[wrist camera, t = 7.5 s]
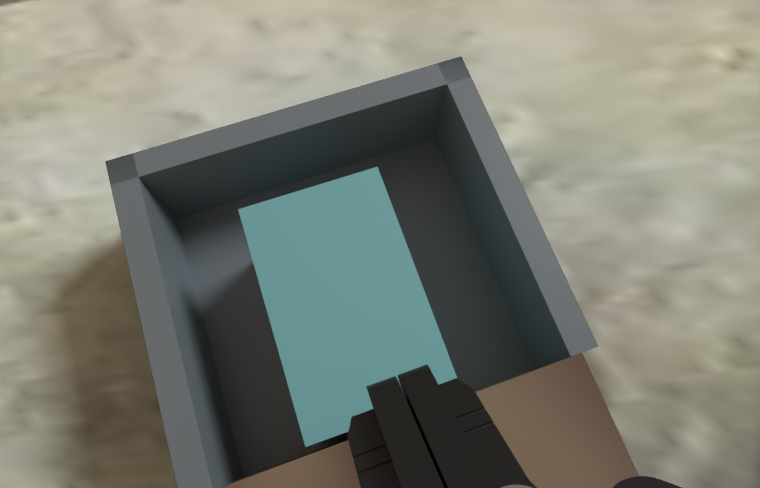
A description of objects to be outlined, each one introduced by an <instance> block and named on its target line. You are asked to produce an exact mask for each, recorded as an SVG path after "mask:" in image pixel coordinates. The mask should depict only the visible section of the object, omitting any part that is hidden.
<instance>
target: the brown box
mask: <svg viewBox="0 0 760 488" xmlns="http://www.w3.org/2000/svg"><path fill="white" fill-rule="evenodd" d="M475 392H476V394H477V396H478V397H479V399H480V401H481V402H482V404H483V406H484V408H485V410H487V412H488V414H489V415H490V417H491V419H492V420H493V423H494V424H495V425H496V427H497V428H498V430H499V432H500V433H501V435H502V437H503V438H504V440H505V442H506V443H507V445H508V447H509V448H510V450H511V451H512V453H513V455H514V456H515V458H516V460H517V461H518V463H519V465H520V466H521V468H522V469H523V471H524V473H525V474H526V476H527V477H528V479H529V480H530V481H531V482H532V483H533V484H534V486H536V487H537V488H613V487H614V486H615V485H616V484H617V483H619V482H620V481H622V480H624V479H627V478H631V477H638V476H639V475H638V473H637V471H636V469H635V467H634V465H633V462H632V460H631V458H630V456H629V454H628V452H627V449H626V447H625V445H624V443H623V441H622V439H621V436H620V434H619V432H618V430H617V428H616V426H615V423H614V421H613V419H612V417H611V415H610V413H609V410H608V408H607V406H606V404H605V402H604V400H603V397H602V395H601V393H600V391H599V389H598V387H597V384H596V382H595V380H594V378H593V376H592V374H591V371H590V369H589V367H588V365H587V363H586V361H585V358H584V356H583V354H582V353H580V354H577V355H574V356H571V357H568V358H565V359H562V360H559V361H556V362H553V363H550V364H547V365H544V366H541V367H538V368H535V369H532V370H530V371H527V372H524V373H522V374H519V375H516V376H514V377H511V378H508V379H506V380H503V381H500V382H498V383H495V384H492V385H489V386H487V387H484V388H481V389H479V390H476V391H475ZM219 488H361V487H360V483H359V479H358V475H357V472H356V468H355V464H354V460H353V457H352V453H351V449H350V445H349V442H348V438H347V439H345V440H342V441H339V442H337V443H334V444H331V445H329V446H326V447H323V448H321V449H318V450H315V451H313V452H310V453H307V454H305V455H302V456H299V457H297V458H294V459H291V460H289V461H286V462H283V463H281V464H278V465H275V466H272V467H270V468H267V469H264V470H262V471H259V472H256V473H254V474H251V475H248V476H246V477H243V478H241V479H238V480H236V481H234V482H231V483H229V484H227V485H224V486H222V487H219Z"/></svg>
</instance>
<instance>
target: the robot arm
mask: <svg viewBox="0 0 760 488" xmlns="http://www.w3.org/2000/svg"><path fill="white" fill-rule="evenodd" d="M398 379H399V382H398V380H397V378H396V376H394V377H391V378H388V379H385V380H383V381H380V382H377V383H374V384H372V385H369V386H366V388H367V391H368V394H369V397H370V400H371V403H372V406H373V409H371V410H369V411H366V412H363V413H361V414H358V415H355V416H352V418H351V422H350V427H349V431H348V436H347V438H348V442H349V445H350V449H351V453H352V457H353V460H354V464H355V468H356V472H357V475H358V479H359V483H360V487H361V488H537V487H536V486H534V484H533V483H532V482H531V481H530V480H529V479H528V477H527V476H526V474H525V473H524V471H523V469H522V468H521V466H520V465H519V463H518V461H517V460H516V458H515V456H514V455H513V453H512V451H511V450H510V448H509V447H508V445H507V443H506V442H505V440H504V438H503V437H502V435H501V433H500V432H499V430H498V428H497V427H496V425H495V424H494V423H493V420H492V419H491V417H490V415H489V414H488V412H487V410H485V408H484V406H483V404H482V402H481V401H480V399H479V397H478V396H477V394H476V392H475V391H474V390H473V389H472V388H471V387H469V386H468V385H466V384H465V383H463V382H462V381H460V380H459V379H457V378H455V379H453V380H450V381H447V382H444V383H442V384H439V385H438V383H437V381H436V379H435V377H434V375H433V373H432V372H431V370H430V368H429V366H428V365H427V364H426V365H424V366H421V367H418V368H415V369H413V370H410V371H407V372H404V373H402V374H399V375H398ZM399 383H400V384H399ZM613 488H682V487H679V486H676V485H673V484H671V483H668V482H665V481H663V480H659V479H656V478H652V477H644V476H638V477H631V478H627V479H624V480H622V481H620V482H619V483H617V484H616V485H615V486H614V487H613Z"/></svg>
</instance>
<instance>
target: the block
mask: <svg viewBox="0 0 760 488" xmlns="http://www.w3.org/2000/svg"><path fill="white" fill-rule="evenodd" d="M238 211H239V214H240V218H241V222H242V225H243V229H244V232H245V236H246V239H247V243H248V246H249V250H250V253H251V257H252V260H253V264H254V267H255V271H256V274H257V278H258V281H259V285H260V289H261V292H262V296H263V299H264V303H265V306H266V310H267V313H268V317H269V320H270V324H271V327H272V331H273V334H274V338H275V341H276V345H277V348H278V352H279V356H280V359H281V363H282V366H283V370H284V373H285V377H286V380H287V384H288V387H289V391H290V394H291V398H292V401H293V405H294V408H295V412H296V415H297V419H298V423H299V426H300V430H301V433H302V437H303V440H304V444H305V447H307V446H310V445H313V444H315V443H318V442H321V441H324V440H326V439H329V438H332V437H335V436H337V435H340V434H343V433H346V432H348V431H349V427H350V422H351V418H352V416H355V415H358V414H361V413H363V412H366V411H369V410H371V409H373V406H372V403H371V400H370V397H369V394H368V391H367V388H366V386H369V385H372V384H374V383H377V382H380V381H383V380H385V379H388V378H391V377H394V376H396V378H397V380H398V382H399V379H398V375H399V374H402V373H404V372H407V371H410V370H413V369H415V368H418V367H421V366H424V365H426V364H427V365H428V366H429V368H430V370H431V372H432V373H433V375H434V377H435V379H436V381H437V383H438V385H439V384H442V383H444V382H447V381H450V380H453V379H455V378H457V376H456V373H455V371H454V368H453V365H452V363H451V360H450V357H449V355H448V352H447V349H446V347H445V344H444V341H443V339H442V336H441V333H440V331H439V328H438V326H437V323H436V320H435V318H434V315H433V312H432V310H431V307H430V304H429V302H428V299H427V296H426V294H425V291H424V288H423V286H422V283H421V280H420V278H419V275H418V273H417V270H416V267H415V265H414V262H413V259H412V257H411V254H410V251H409V249H408V246H407V243H406V241H405V238H404V235H403V233H402V230H401V227H400V225H399V222H398V220H397V217H396V214H395V212H394V209H393V206H392V204H391V201H390V198H389V196H388V193H387V190H386V188H385V185H384V182H383V180H382V177H381V174H380V172H379V169H378V167H375V168H371V169H368V170H365V171H362V172H358V173H355V174H352V175H348V176H345V177H342V178H339V179H335V180H332V181H329V182H326V183H322V184H319V185H316V186H312V187H309V188H306V189H303V190H299V191H296V192H293V193H290V194H286V195H283V196H280V197H277V198H273V199H270V200H267V201H263V202H260V203H257V204H254V205H250V206H247V207H244V208H241V209H238ZM457 379H458V378H457ZM399 384H400V383H399Z"/></svg>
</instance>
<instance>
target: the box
mask: <svg viewBox="0 0 760 488" xmlns="http://www.w3.org/2000/svg"><path fill="white" fill-rule="evenodd" d="M106 166H107V171H108V175H109V180H110V185H111V189H112V194H113V198H114V203H115V207H116V212H117V216H118V221H119V225H120V230H121V234H122V239H123V243H124V248H125V253H126V257H127V262H128V266H129V271H130V275H131V280H132V284H133V289H134V293H135V298H136V302H137V307H138V312H139V316H140V321H141V325H142V330H143V334H144V339H145V343H146V348H147V352H148V357H149V361H150V366H151V371H152V375H153V380H154V384H155V389H156V393H157V398H158V402H159V407H160V411H161V416H162V420H163V425H164V429H165V434H166V439H167V443H168V448H169V452H170V457H171V461H172V466H173V470H174V475H175V479H176V484H177V488H219V487H222V486H224V485H227V484H229V483H231V482H234V481H236V480H238V479H241V478H243V477H246V476H248V475H251V474H254V473H256V472H259V471H262V470H264V469H267V468H270V467H272V466H275V465H278V464H281V463H283V462H286V461H289V460H291V459H294V458H297V457H299V456H302V455H305V454H307V453H310V452H313V451H315V450H318V449H321V448H323V447H326V446H329V445H331V444H334V443H337V442H339V441H342V440H345V439H347V436H348V432H346V433H343V434H340V435H337V436H335V437H332V438H329V439H326V440H324V441H321V442H318V443H315V444H313V445H310V446H307V447H305V444H304V440H303V437H302V433H301V430H300V426H299V423H298V419H297V415H296V412H295V408H294V405H293V401H292V398H291V394H290V391H289V387H288V384H287V380H286V377H285V373H284V370H283V366H282V363H281V359H280V356H279V352H278V348H277V345H276V341H275V338H274V334H273V331H272V327H271V324H270V320H269V317H268V313H267V310H266V306H265V303H264V299H263V296H262V292H261V289H260V285H259V281H258V278H257V274H256V271H255V267H254V264H253V260H252V257H251V253H250V250H249V246H248V243H247V239H246V236H245V232H244V229H243V225H242V222H241V218H240V214H239V211H238V209H241V208H244V207H247V206H250V205H254V204H257V203H260V202H263V201H267V200H270V199H273V198H277V197H280V196H283V195H286V194H290V193H293V192H296V191H299V190H303V189H306V188H309V187H312V186H316V185H319V184H322V183H326V182H329V181H332V180H335V179H339V178H342V177H345V176H348V175H352V174H355V173H358V172H362V171H365V170H368V169H371V168H375V167H378V169H379V172H380V174H381V177H382V180H383V182H384V185H385V188H386V190H387V193H388V196H389V198H390V201H391V204H392V206H393V209H394V212H395V214H396V217H397V220H398V222H399V225H400V227H401V230H402V233H403V235H404V238H405V241H406V243H407V246H408V249H409V251H410V254H411V257H412V259H413V262H414V265H415V267H416V270H417V273H418V275H419V278H420V280H421V283H422V286H423V288H424V291H425V294H426V296H427V299H428V302H429V304H430V307H431V310H432V312H433V315H434V318H435V320H436V323H437V326H438V328H439V331H440V333H441V336H442V339H443V341H444V344H445V347H446V349H447V352H448V355H449V357H450V360H451V363H452V365H453V368H454V371H455V373H456V376H457V378H458V379H459V380H460V381H462V382H463V383H465V384H466V385H468V386H469V387H471V388H472V389H473V390H474V391H476V390H479V389H481V388H484V387H487V386H489V385H492V384H495V383H498V382H500V381H503V380H506V379H508V378H511V377H514V376H516V375H519V374H522V373H524V372H527V371H530V370H532V369H535V368H538V367H541V366H544V365H547V364H550V363H553V362H556V361H559V360H562V359H565V358H568V357H571V356H574V355H576V354H579V353H582V352H584V351H587V350H590V349H592V348H595V347H598V345H597V343H596V341H595V339H594V337H593V334H592V332H591V330H590V328H589V326H588V324H587V322H586V320H585V317H584V315H583V313H582V311H581V309H580V307H579V305H578V303H577V301H576V298H575V296H574V294H573V292H572V290H571V288H570V286H569V284H568V281H567V279H566V277H565V275H564V273H563V271H562V269H561V267H560V265H559V262H558V260H557V258H556V256H555V254H554V252H553V250H552V248H551V245H550V243H549V241H548V239H547V237H546V235H545V233H544V231H543V229H542V226H541V224H540V222H539V220H538V218H537V216H536V214H535V212H534V209H533V207H532V205H531V203H530V201H529V199H528V197H527V195H526V193H525V190H524V188H523V186H522V184H521V182H520V180H519V178H518V176H517V173H516V171H515V169H514V167H513V165H512V163H511V161H510V159H509V156H508V154H507V152H506V150H505V148H504V146H503V144H502V142H501V140H500V137H499V135H498V133H497V131H496V129H495V127H494V125H493V123H492V120H491V118H490V116H489V114H488V112H487V110H486V108H485V106H484V104H483V101H482V99H481V97H480V95H479V93H478V91H477V89H476V87H475V84H474V82H473V80H472V78H471V76H470V74H469V72H468V70H467V68H466V65H465V63H464V61H463V59H462V57H458V58H454V59H451V60H447V61H444V62H441V63H437V64H434V65H431V66H427V67H424V68H420V69H417V70H414V71H410V72H407V73H403V74H400V75H397V76H393V77H390V78H387V79H383V80H380V81H376V82H373V83H370V84H366V85H363V86H359V87H356V88H353V89H349V90H346V91H342V92H339V93H336V94H332V95H329V96H326V97H322V98H319V99H315V100H312V101H309V102H305V103H302V104H298V105H295V106H292V107H288V108H285V109H282V110H278V111H275V112H271V113H268V114H265V115H261V116H258V117H254V118H251V119H248V120H244V121H241V122H238V123H234V124H231V125H227V126H224V127H221V128H217V129H214V130H210V131H207V132H204V133H200V134H197V135H194V136H190V137H187V138H183V139H180V140H177V141H173V142H170V143H166V144H163V145H160V146H156V147H153V148H150V149H146V150H143V151H139V152H136V153H133V154H129V155H126V156H122V157H119V158H116V159H112V160H109V161H106Z"/></svg>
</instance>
